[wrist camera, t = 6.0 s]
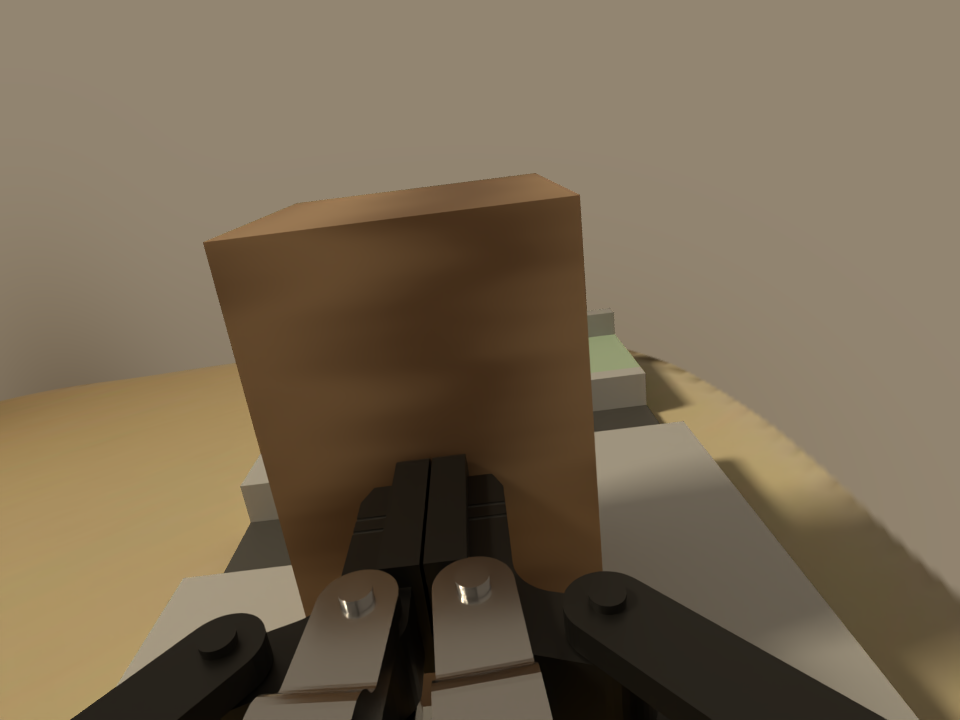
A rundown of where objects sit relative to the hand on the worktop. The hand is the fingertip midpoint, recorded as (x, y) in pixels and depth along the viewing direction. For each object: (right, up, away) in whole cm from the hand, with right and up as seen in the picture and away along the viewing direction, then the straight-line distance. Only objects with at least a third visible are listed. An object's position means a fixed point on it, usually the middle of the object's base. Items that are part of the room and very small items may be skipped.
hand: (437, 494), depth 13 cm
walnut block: (+1, -4, +5) cm, 7 cm away
